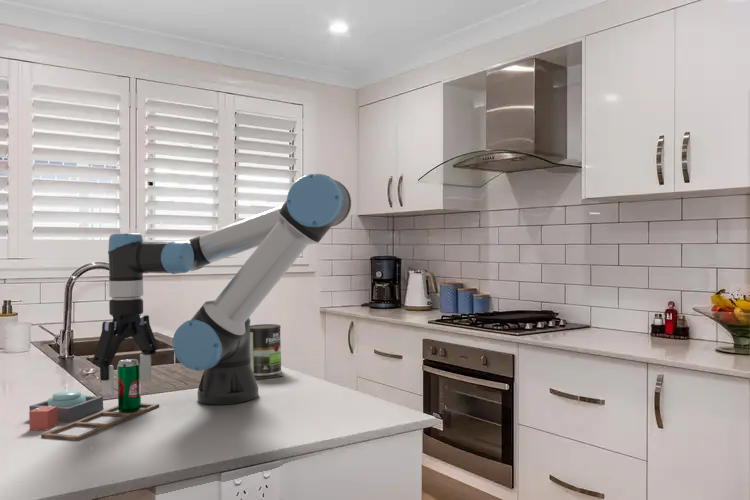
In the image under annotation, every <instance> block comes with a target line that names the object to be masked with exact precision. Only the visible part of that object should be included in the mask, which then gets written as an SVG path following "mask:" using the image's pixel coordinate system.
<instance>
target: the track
mask: <svg viewBox="0 0 750 500" xmlns="http://www.w3.org/2000/svg"><path fill="white" fill-rule="evenodd" d="M159 407H160V404H159V403H148V402H147V403H144V402H141V408H143V409H140V410H139V411H136V412H133V413H121V412H120V411H119V410H118V405H116V406H113V407H110V408H108V409H103V410H101V411H98V412H95V413H93V414H90V415H87V416H85V417H82V418H81V419H77V420H74V421H72V422H71V423H70V422H69V423H67V424H65V425H63V426H60V427H57V428H55V429H52V430H51V429H50V430H48V431H47V432H44V433H41V434H40V437H41V438H45V439H55V440H56V439H57V440H68V441H69V440H70V441H81V440H83V439H86V438H88V437H90V436H93V435H95V434H98V433H100V432H102V431H105V430H107V429H110V428H112V427H114V426H117V425H119V424H121V423H123V422H126V421H128V420H129V421H130V420H131V419H133V418H135V417H136V418H137V417H138V416H140V415H143V414H145V413H148V412H150V411H152V410H155V409H157V408H159ZM116 411H119V412H116ZM102 416H110V417H121V418H118V419H116V420H114V421H111V422H108V423H98V422H89V421H91V420H95V419H97V418H100V417H102ZM74 427H83V428H84V427H85V428H93V429H92V430H89V431H87V432H84V433H82V434H79V435H72V434H60V432H63V431H66V430H68V429H71V428H74Z"/></svg>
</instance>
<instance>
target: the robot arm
mask: <svg viewBox="0 0 750 500" xmlns="http://www.w3.org/2000/svg"><path fill="white" fill-rule="evenodd" d="M286 197H287V198H286V200H285V201H284V203H283V205H280V206H278V207H275V208H272V209H269V210H267V211H264V212H260V213H258V214H256V215H253V216H250V217H247V218H245V219H243V220H239V221H236V222H234V223H230V224H229V225H225V226H223V227H220V228H218V229H215V230H212V231H209V232H207V233H204V234H201V235H199V236H196V237H194V238H190V239H187V240H171V241H170V240H169V241H168V240H167V241H166V240H165V241H163V240H162V241H144V238H143V235H142V233H131V232H129V233H113V234H110V236H109V238H108V251H107V254H108V273H109V274H108V275H109V276H108V277H109V278H108V279H109V280H108V281H109V283H108V286H109V287H108V289H109V291H108V292H109V294H108V295H109V297H110V298H112V299H110V300H109V301H108V304H109V306H108V309H109V315H110V316H112V321H103V322H102V326H101V334H100V336H99V338H98V339H99V340H98V343H97V345H96V349H95V353H94V355H93V359H92V365H95V366H98V367H99V373H100V374H99V376H100V377H99V379H100V381H101V395H114V394H115V389H114V388H115V386H114V383H115V379H114V365H111V364H112V362H113V360H114V359H115V356H116V354H117V352H118V350H119V348H120V346H121V344H122V342H124V341H125V339H128V338H130V337H131V338H132V339H133V341H134V342H135V344H136V345H137V347H138V348H139V350H140V352H141V353H142V354H139V364H140V382H152V364H153V363H152V362H153V361H152V360H153V355H156V353H157V351H158V347H159V346H158V344H157V341H156V338H155V335H154V332H153V330H152V329H153V328H152V327H151V323H150V315H147V314H146V315H145V314H143V313H144V299H143V298H142V297H143V296H144V278H143V277H144V274H172V275H175V274H185V273H188V272H189V271H190V272H191V271H197V270H200V269H203V268H204V267H205V266H208V265H210V264H213V263H215V262H218V261H220V260H223V259H226V258H230V257H231V256H234V255H238V254H241V253H244V252H246V251H249V250H251V249H254V248H255V250H254V251H253V252H252V254H251V255H250V256H249V257H248V259H247V260H246V261H245V262H244V263H243V264H242V266H241V267H240V269H239V270H237V272H236V274H235V275H234V276H233V277H232V279H230V281H229V282H228V283H227V285H226V286H225V287H224V288H223V290H222V291H221V292H220V293H219V295H218V296H217V298H216V299H215V300H207V301H204V302H203V304H202V306H201V307H200V308H199V309H198V310H197V312H195V314H194V315H193V317H191V319H190V320H186V321H185V322H183V323H182V324H181V325H179V326H178V327H177V329H176V330H175V332H174V334H173V337H172V346H173V347H172V349H173V352H174V355H175V358H176V359H177V360H178V362H179V363H180V364H181V365H182V366H184V367H185V368H187V369H189V370H192V371H199V372H200V371H202V374H201V378H200V382H199V385H198V388H197V401H198V402H199V403H200V404H201V403H202V404H207V405H215V406H216V405H233V404H240V403H245V402H246V403H247V402H248V401H252V400H254V399H256V398H258V397H259V386H258V383H257V380H256V376H254V374H253V371H252V368H251V358H250V357H251V356H250V326H251V319H250V317H251V316H252V315H253V313H254V312H255V311H256V309H258V308H259V306H260V304H261V303H262V302H263V301H265V299H266V297H267V296H268V295H269V294H270V292H271V291H272V290H273V288H275V286H276V285H277V284H278V282H279V281H280V280H281V279H282V277H283V276H284V275H286V273H287V271H288V270H289V269H290V268H291V266H292V265H293V264H294V263H295V262H296V261H297V259H298V258H299V257H300V256H301V254H302V253H303V251H305V250H306V248H307V247H308V246H309V245H313V244H319V242H320V241H321V240H322V239H323V238H324V237H325V235H326V234H327V233H328V232H329V230H330V229H331V228H332V227H336V226H338V225H340V224H342V223H343V222H344V221H345V219H346V218H347V217H348V216H349V214H350V211H351V209H352V197H351V194H350V192H349V190H348V188H347V187H346V186H345V185H344V184H343V183H341V182H340V181H338V180H337V179H334V178H332V177H330V176H329V175H327V174H326V175H325V174H323V173H310V174H305V175H304V176H302V177H299V178H298V179H297V180H295V182H293V184H292V185H291V186H290V188H289V190H288V192H287V195H286Z"/></svg>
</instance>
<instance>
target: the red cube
mask: <svg viewBox="0 0 750 500" xmlns="http://www.w3.org/2000/svg"><path fill="white" fill-rule="evenodd" d="M28 414H29V417H28V420H29V431H45V430H46V431H49V430H51V429H52V428H54V427H55V426H58V424H59V421H58V411H57V406H53V407H52V406H48V407H38V408H36V409H34V410H32V411H30V410H29V412H28Z"/></svg>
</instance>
